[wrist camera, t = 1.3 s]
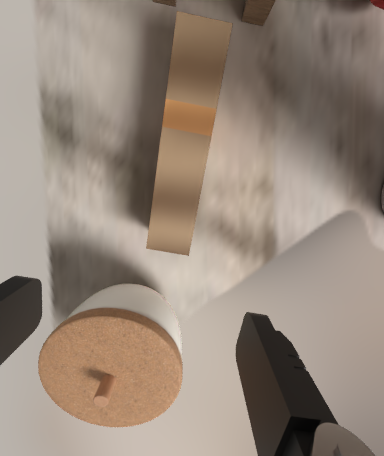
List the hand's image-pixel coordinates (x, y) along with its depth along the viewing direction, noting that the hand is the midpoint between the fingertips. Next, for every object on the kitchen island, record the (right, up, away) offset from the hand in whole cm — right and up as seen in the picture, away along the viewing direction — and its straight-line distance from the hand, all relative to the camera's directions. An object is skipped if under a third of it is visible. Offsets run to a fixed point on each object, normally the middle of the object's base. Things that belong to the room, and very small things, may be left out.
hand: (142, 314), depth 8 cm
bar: (+1, +11, +14) cm, 18 cm away
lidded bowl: (-5, -7, +19) cm, 21 cm away
